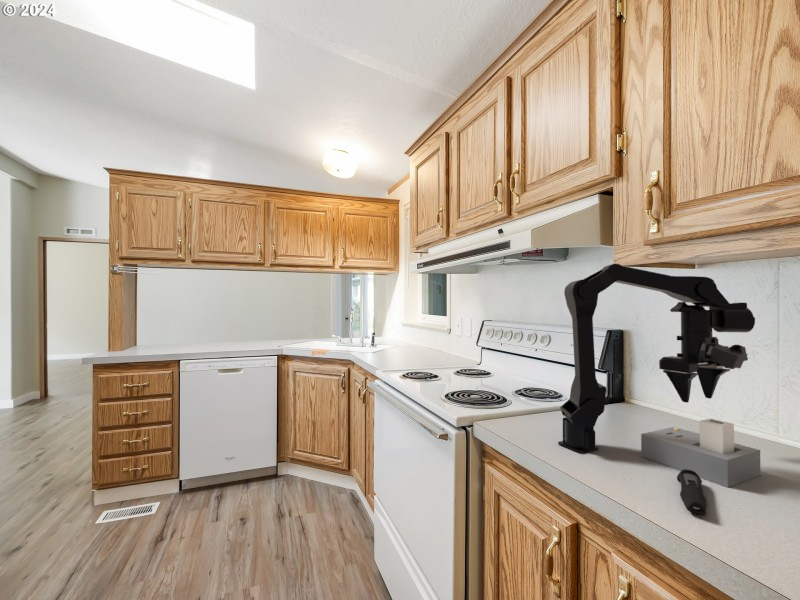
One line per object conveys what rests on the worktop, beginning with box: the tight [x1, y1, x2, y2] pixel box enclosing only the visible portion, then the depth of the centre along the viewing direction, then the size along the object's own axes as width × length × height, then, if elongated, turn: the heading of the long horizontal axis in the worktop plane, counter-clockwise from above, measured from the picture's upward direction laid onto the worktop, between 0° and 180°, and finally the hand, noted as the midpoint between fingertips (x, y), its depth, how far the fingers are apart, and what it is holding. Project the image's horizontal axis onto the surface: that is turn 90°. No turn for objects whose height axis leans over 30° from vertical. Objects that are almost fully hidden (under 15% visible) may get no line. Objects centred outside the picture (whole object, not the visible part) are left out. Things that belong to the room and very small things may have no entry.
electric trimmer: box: [676, 469, 708, 516], centre depth 66 cm, size 4×16×3 cm, turn 146°
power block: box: [640, 426, 762, 488], centre depth 80 cm, size 16×12×5 cm
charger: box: [699, 418, 735, 455], centre depth 77 cm, size 4×4×8 cm
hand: (697, 400), depth 87 cm, fingers open, 9 cm apart
